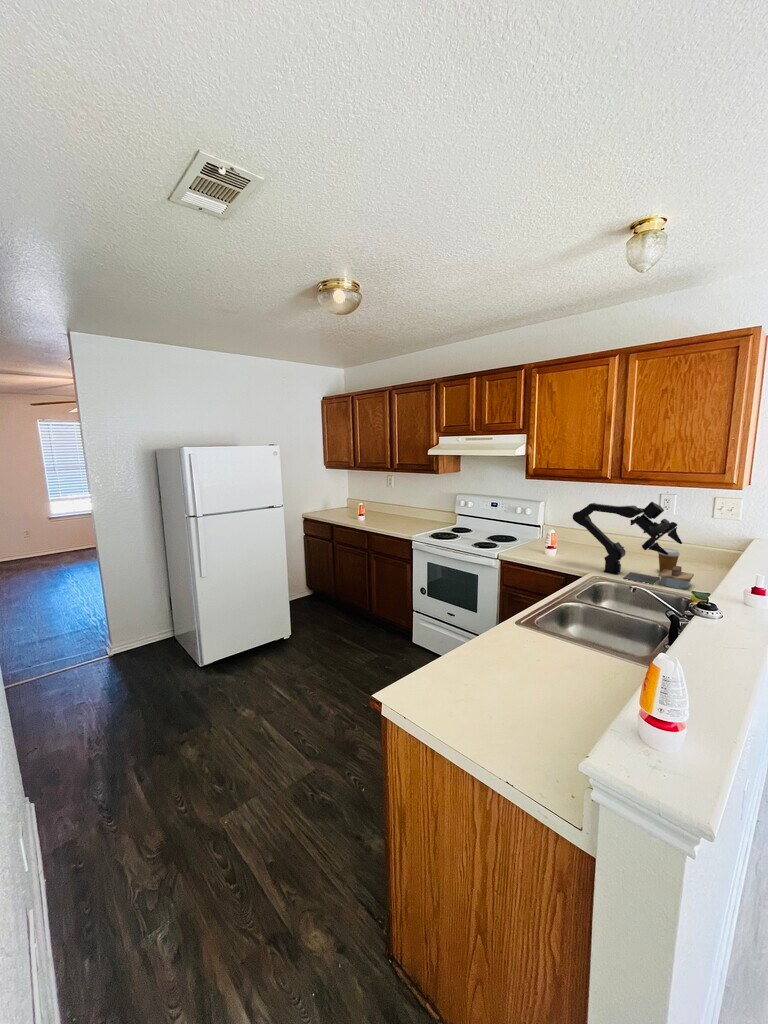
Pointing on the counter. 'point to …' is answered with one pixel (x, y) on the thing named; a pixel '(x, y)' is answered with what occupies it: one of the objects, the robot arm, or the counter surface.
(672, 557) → the disposable coffee cup
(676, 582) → the bowl
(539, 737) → the counter surface
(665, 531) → the robot arm
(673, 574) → the cover
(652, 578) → the mat
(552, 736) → the counter surface
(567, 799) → the counter surface
